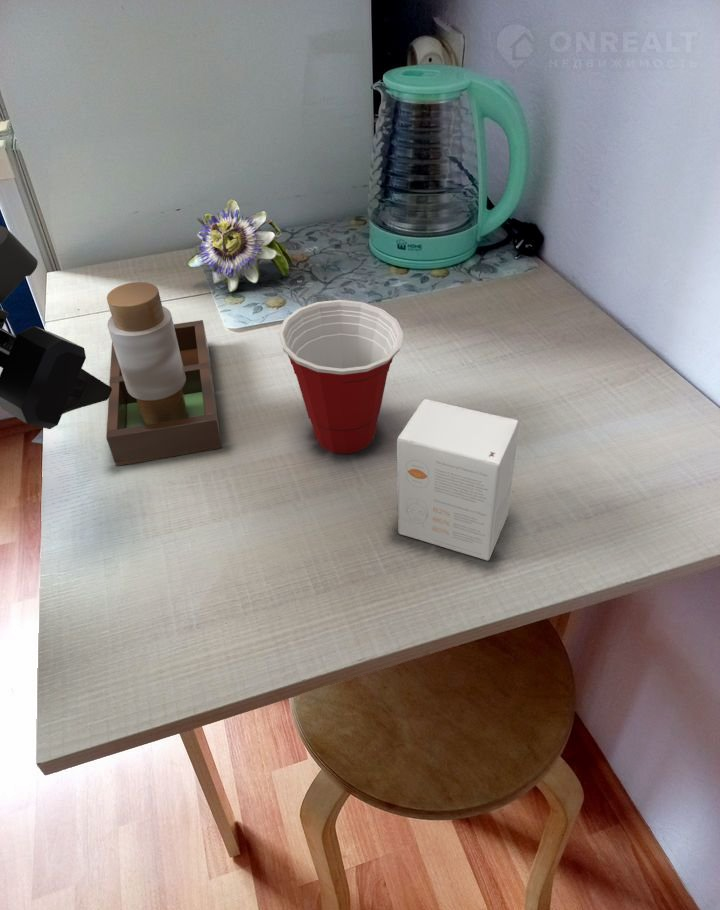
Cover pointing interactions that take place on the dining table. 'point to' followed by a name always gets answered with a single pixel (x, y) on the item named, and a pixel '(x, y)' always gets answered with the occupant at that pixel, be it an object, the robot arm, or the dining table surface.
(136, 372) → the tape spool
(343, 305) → the plastic cup
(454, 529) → the small box
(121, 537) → the dining table surface
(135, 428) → the tray
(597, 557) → the dining table surface
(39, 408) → the robot arm
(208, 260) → the passion flower
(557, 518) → the dining table surface
